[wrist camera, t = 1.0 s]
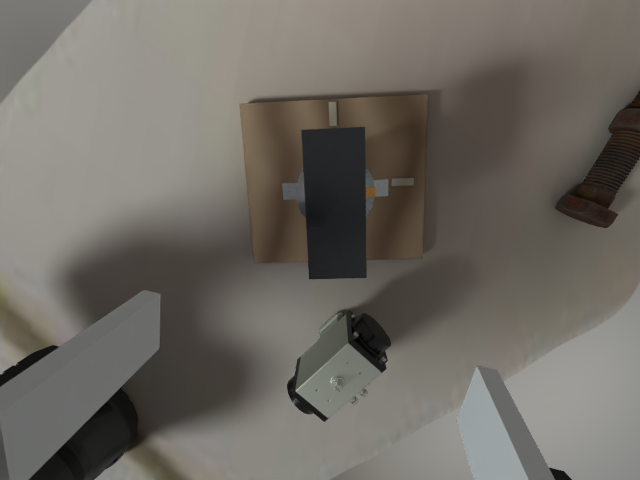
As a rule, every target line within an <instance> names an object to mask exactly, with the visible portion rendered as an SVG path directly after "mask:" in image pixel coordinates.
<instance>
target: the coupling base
mask: <svg viewBox="0 0 640 480" xmlns="http://www.w3.org/2000/svg"><path fill="white" fill-rule="evenodd" d="M427 107H428V94H420V95H401V96H381V97H362V98H342V99H322V100H303V101H283V102H264V103H244V104H240V115H241V126H242V136H243V147H244V158H245V168H246V179H247V190H248V200H249V211H250V222H251V232H252V243H253V254H254V263H271V262H307V261H308V248H307V229H306V218H305V217H304V216H303V214H302V213H301V211H300V209H299V206H298V203H297V199H296V200H283V186H282V183H284V182H298V178H299V176H300V174H301V172H302V171H303V154H302V135H301V130H307V129H328V128H349V127H365V166H366V168H367V169H368V170H369V172H370V174H371V176H372V178H373V179H376V178H387V179H388V196H377V197H375V198H374V202H373V205H372V208H371V210H370V212H369V213H368V215H367V216H366V260H380V259H416V258H423V229H424V198H425V168H426V138H427Z"/></svg>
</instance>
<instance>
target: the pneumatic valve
mask: <svg viewBox="0 0 640 480" xmlns="http://www.w3.org/2000/svg"><path fill="white" fill-rule="evenodd" d="M342 316H343V315H342V313H340V312H339V313H336V314H335V315H334V316H333V317H331V318H330V319H329V320H328V321H327V322H326V323H325V324H324V325H323V326H322V327H321V328H320V329H319V334H320V338H319V339H318V341H317V342H316V343H315V344H314V345H313V346H311V347H310V348H309V349H308V350H307V351H306V352H305V353H304V354H303V355H302V356H301V357H300V358H299V359H297V365H296V371H295V376H293V377H292V378H291V379H290V380H289V381H288V384H287V390H288V394H289V396H290V399H291V400H292V402H293V403H294V405H295V406H296V407H297V408H298V409H299V410H300V411H302V412H303V413H306V414H313V413H314V414H315V415H317V416H318V417H319V418H320V419H321V420H323V421H324V422H325V421H326V420H327V419H328V418H330V417H331V416H332V415H333V414H334V413H335V412H337V411H338V410H339V409H340V408H341V407H342V406H344V405H345V404H346V403H347V402H348V401H350V402H351V403H352V404H353V405H356V404H357V403H358V398H356V397H355V395H356V394H358V393H359V394H360V395H361V396H362V397H365V396H366V395H367V393H368V391H367V390H366V389H364V388H365V387H366V386H367V385H368V384H369V383H371V382H372V381H373V380H374V379H375V378H376V377H378V376H379V375H380V374H381V373H382V372H383V371H385V370H386V365H385V363H386V362H387V361H388V360H387V356H386V352H385V351H386V350H387V349H388V348H389V347H390V346H391V341H390V339H389V337H388V335H387V334H386V332H385V331H384V329H383V328H382V327H381V326H380V325H379V324H378V323H377V322H376V321H375V320H374V319H373V318H372V317H371V316H369V315H368V314H366V313H362V314H361V315H360V316H359V317H357V316H356V315H355V314H353V313H352V312H351V311H349V312H348V313H347V314H346V315H345V316H343V317H342Z"/></svg>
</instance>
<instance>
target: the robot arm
mask: <svg viewBox="0 0 640 480" xmlns="http://www.w3.org/2000/svg"><path fill="white" fill-rule="evenodd" d="M160 303H161V294H160V293H156V292H151V291H147V290H143V291H141V292H140V293H138V294H137V295H135V296H134V297H132V298H131V299H129V300H128V301H127V302H125V303H124V304H122V305H121V306H119V307H118V308H116V309H115V310H113V311H112V312H110V313H109V314H107V315H106V316H104V317H103V318H101V319H100V320H98V321H97V322H95V323H94V324H93V325H91V326H90V327H88V328H87V329H85V330H84V331H82V332H81V333H79V334H78V335H76V336H75V337H73V338H72V339H70V340H69V341H67V342H66V343H64V344H63V345H61V346H60V347H58V346H54V345H52V346H49V347H47V348H44V349H42V350H39V351H36V352H34V353H32V354H30V355H29V356H27V357H26V358H24V359H23V360H21V361H20V362H18V363H17V364H16V366H14V365H13V366H12V367H10V368H9V369H7V370H6V371H4V372H3V374H2V375H0V480H94V479H95V478H97V477H98V476H99V475H100V474H101V473H102V472H103V471H104V470H105V469H107V468H109V467H110V466H112V465H113V464H114V463H116V462H117V461H118V460H119V459H120V458H121V457H122V456H123V454H124V453H125V452H126V450H127V449H128V447H129V446H130V445H131V443H132V442H133V440H134V438H135V435H136V432H137V416H136V412H135V409H134V407H133V405H132V403H131V401H130V400H129V398H128V397H127V396H126V395H125V393H124V392H123V391H122V390H121V389H120V388H121V387H122V386H123V385H124V384H125V383H126V382H127V381H128V380H129V379H130V378H131V377H132V376H133V375H134V374H135V373H136V372H137V371H138V370H139V369H140V368H141V367H142V366H143V365H144V364H145V363H146V362H147V361H148V360H149V359H150V358H151V357H152V356H153V355H154V354H155V353H156V352H157V351H158V350H159V349H160ZM457 423H458V427H459V430H460V434H461V437H462V441H463V444H464V447H465V450H466V454H467V458H468V461H469V464H470V468H471V471H472V475H473V478H474V480H571V478H570V477H569V476H568V475H567V474H566V473H565V472H564V471H561V470H556V469H552V468H549V467H548V465H547V464H546V462H545V460H544V458H543V456H542V454H541V452H540V450H539V448H538V447H537V445H536V443H535V441H534V439H533V437H532V435H531V433H530V432H529V429H528V428H527V426H526V424H525V422H524V420H523V418H522V416H521V414H520V412H519V411H518V409H517V407H516V405H515V403H514V401H513V399H512V397H511V396H510V394H509V392H508V390H507V388H506V386H505V385H504V382H503V380H502V378H501V377H500V375H499V373H498V371H497V370H494V369H490V368H485V367H481V366H477V367H476V369H475V372H474V375H473V378H472V380H471V383H470V386H469V388H468V391H467V394H466V397H465V399H464V402H463V405H462V407H461V410H460V413H459V415H458V419H457Z"/></svg>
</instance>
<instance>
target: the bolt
mask: <svg viewBox="0 0 640 480" xmlns="http://www.w3.org/2000/svg"><path fill="white" fill-rule="evenodd" d="M608 129H609V131H610V133H611V134H613V135H612V136H611V138H610V139H609V141H608V142H607V144H606V147H604V150H603V151H602V153H601V154H600V156H599V157H598V159H597V160H596V162H595V163H594V165H593V167H592V168H591V170H590V171H589V173H588V176H586V179H584V182H582V184H581V185H580V186H579V187H578V189H577V190H576V192H575V194H574V195H573V196H570V195H566V194H565V195H564V196H562V197H561V199H560V201H559V202H558V204H557V206H556V207H555V208H556V209H557V210H558V211H560V212H562V213H564V214H566V215H568V216H570V217H572V218H575V219H577V220H580V221H583V222H585V223H587V224H591V225H595V226H598V227H603V228H607V227H609V226H610V225H611V224H612V223H613V222H614V220H615V219H616V217H617V216H618V214H617V213H615V212H613V211H611V210H609V209H608V208H609V206H610V205H611V203H612V202H613V200H614V199H615V195H616V193H617V190H619V187H621V184H623V182H622V181H625V178H627V176H626V175H629V173H628V172H631V170H630V169H633V167H632V166H635V164H634V163H637V160H638V159H639V158H638V157H640V91H639V92H638V95H637V96H636V98H635V99H634V101H633V102H632V104H631V105H630V107H629V108H628V109H624V110H621V111H619V113H618V114H617V115H616V117H615V118H614V120H613V121H612V123H611V125H610V126H609V128H608Z"/></svg>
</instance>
